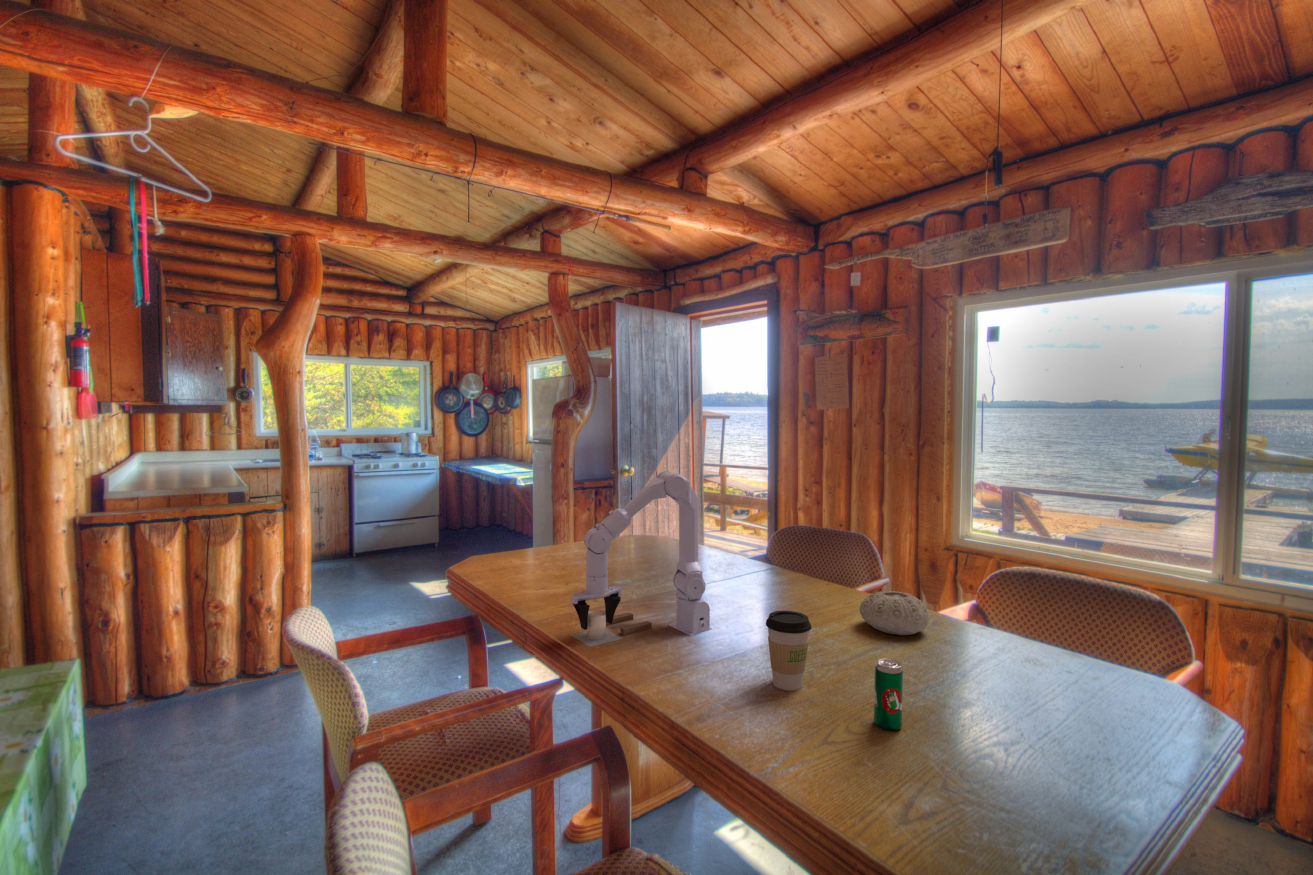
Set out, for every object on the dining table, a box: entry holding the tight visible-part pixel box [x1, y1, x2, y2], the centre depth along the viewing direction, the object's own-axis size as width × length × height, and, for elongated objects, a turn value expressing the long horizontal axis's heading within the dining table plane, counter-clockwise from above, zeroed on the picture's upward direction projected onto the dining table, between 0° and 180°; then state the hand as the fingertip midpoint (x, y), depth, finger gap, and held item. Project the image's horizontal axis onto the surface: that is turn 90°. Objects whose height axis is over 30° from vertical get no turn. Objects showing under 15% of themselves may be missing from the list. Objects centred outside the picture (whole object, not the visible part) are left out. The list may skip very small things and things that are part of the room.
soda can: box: [873, 658, 904, 732], centre depth 113 cm, size 5×5×12 cm
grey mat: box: [570, 629, 623, 648], centre depth 157 cm, size 10×10×1 cm
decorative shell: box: [859, 590, 930, 636], centre depth 166 cm, size 18×18×10 cm
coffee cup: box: [765, 610, 812, 692], centre depth 130 cm, size 10×10×15 cm
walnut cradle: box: [606, 612, 653, 637], centre depth 165 cm, size 11×9×2 cm
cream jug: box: [586, 610, 607, 640], centre depth 158 cm, size 7×5×6 cm
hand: (596, 625), depth 157 cm, fingers open, 7 cm apart
